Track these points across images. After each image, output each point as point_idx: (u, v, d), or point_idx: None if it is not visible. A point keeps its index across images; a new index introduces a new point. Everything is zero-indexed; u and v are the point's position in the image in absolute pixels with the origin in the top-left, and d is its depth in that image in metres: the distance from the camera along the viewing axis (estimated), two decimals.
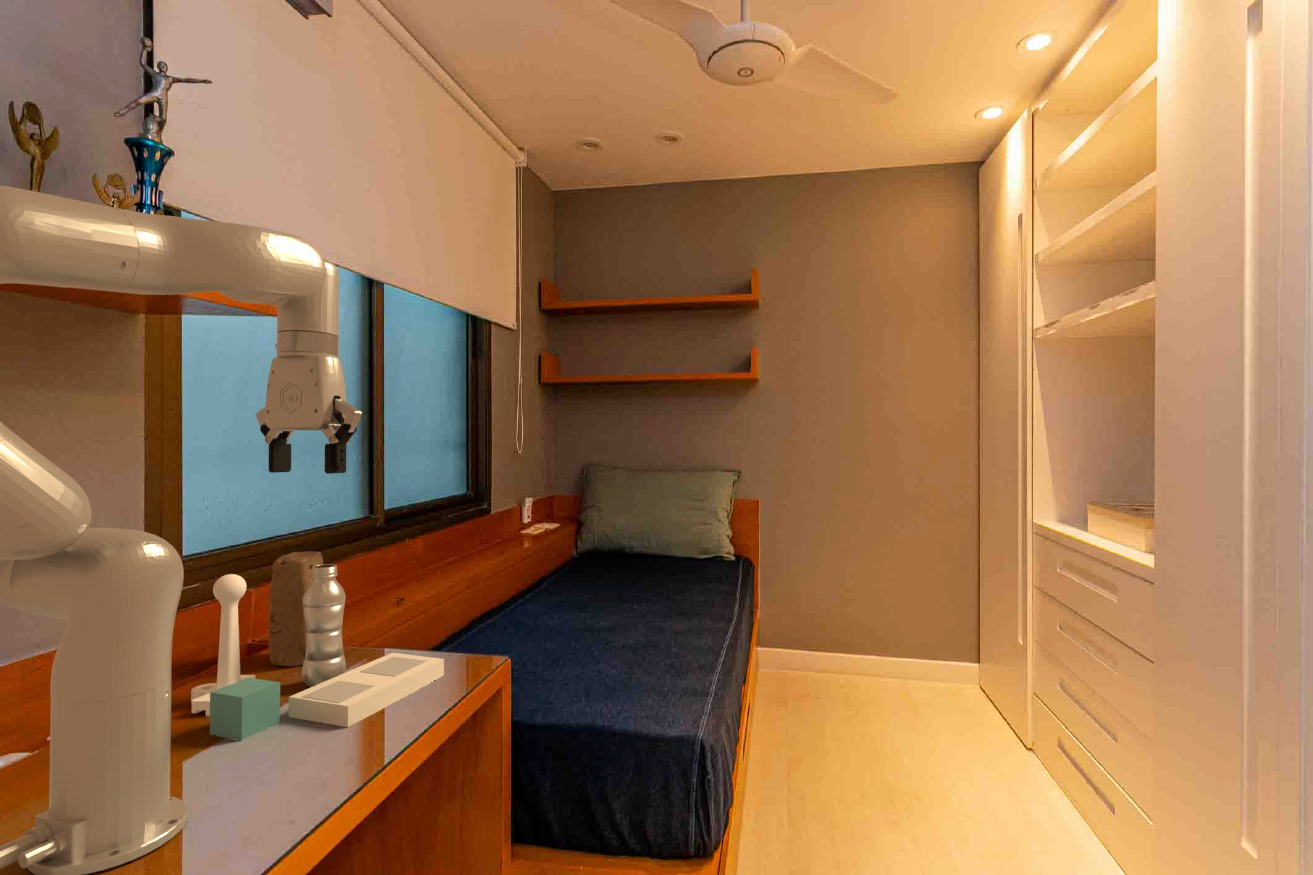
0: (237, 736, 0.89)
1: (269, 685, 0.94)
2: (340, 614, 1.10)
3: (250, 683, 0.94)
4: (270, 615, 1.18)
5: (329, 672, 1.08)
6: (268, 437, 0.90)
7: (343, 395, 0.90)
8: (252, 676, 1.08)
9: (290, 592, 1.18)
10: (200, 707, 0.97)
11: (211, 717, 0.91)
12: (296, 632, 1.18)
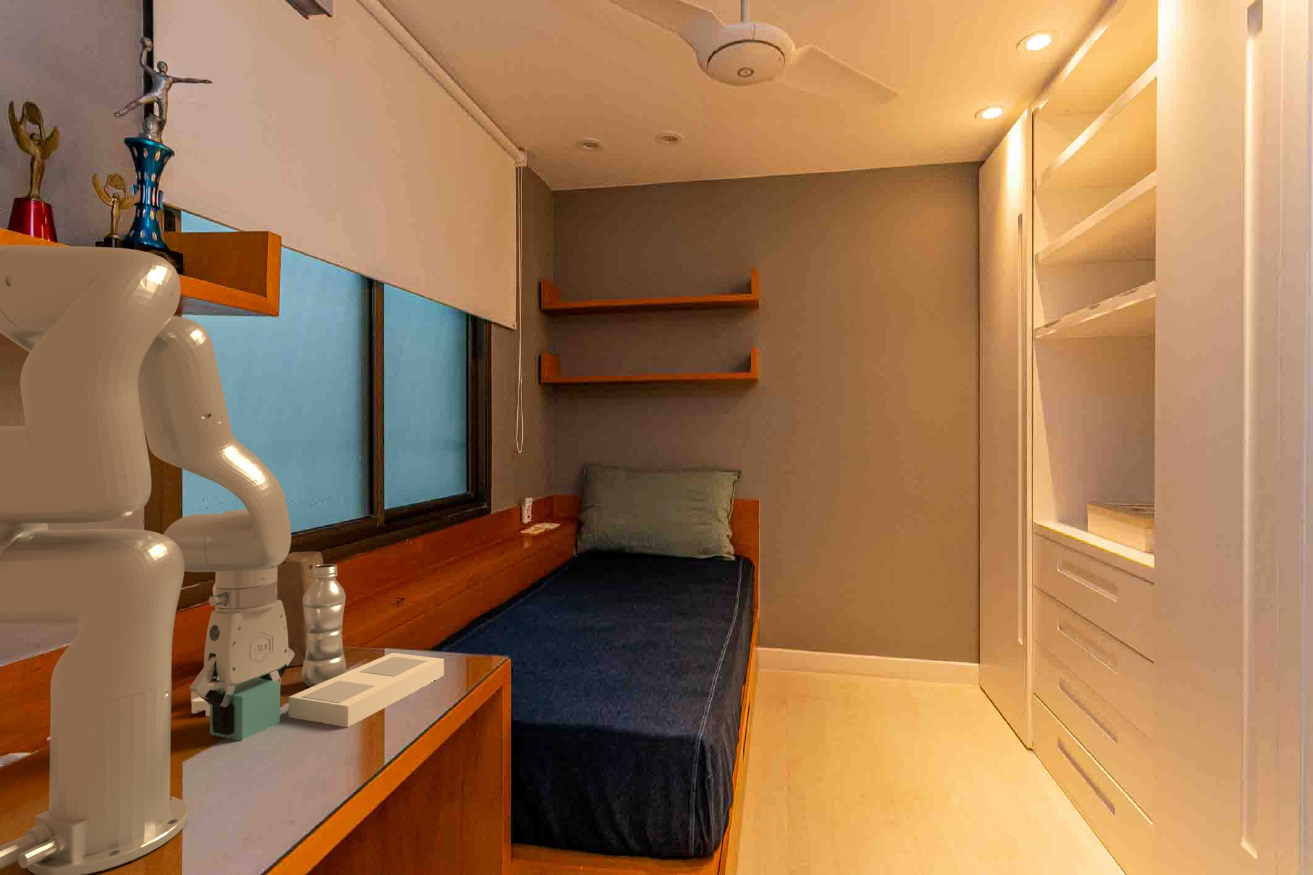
0: (237, 736, 0.89)
1: (269, 684, 0.94)
2: (340, 614, 1.10)
3: (250, 682, 0.94)
4: None
5: (329, 672, 1.08)
6: (225, 700, 0.89)
7: None
8: None
9: (290, 592, 1.18)
10: (200, 707, 0.97)
11: None
12: (296, 632, 1.18)
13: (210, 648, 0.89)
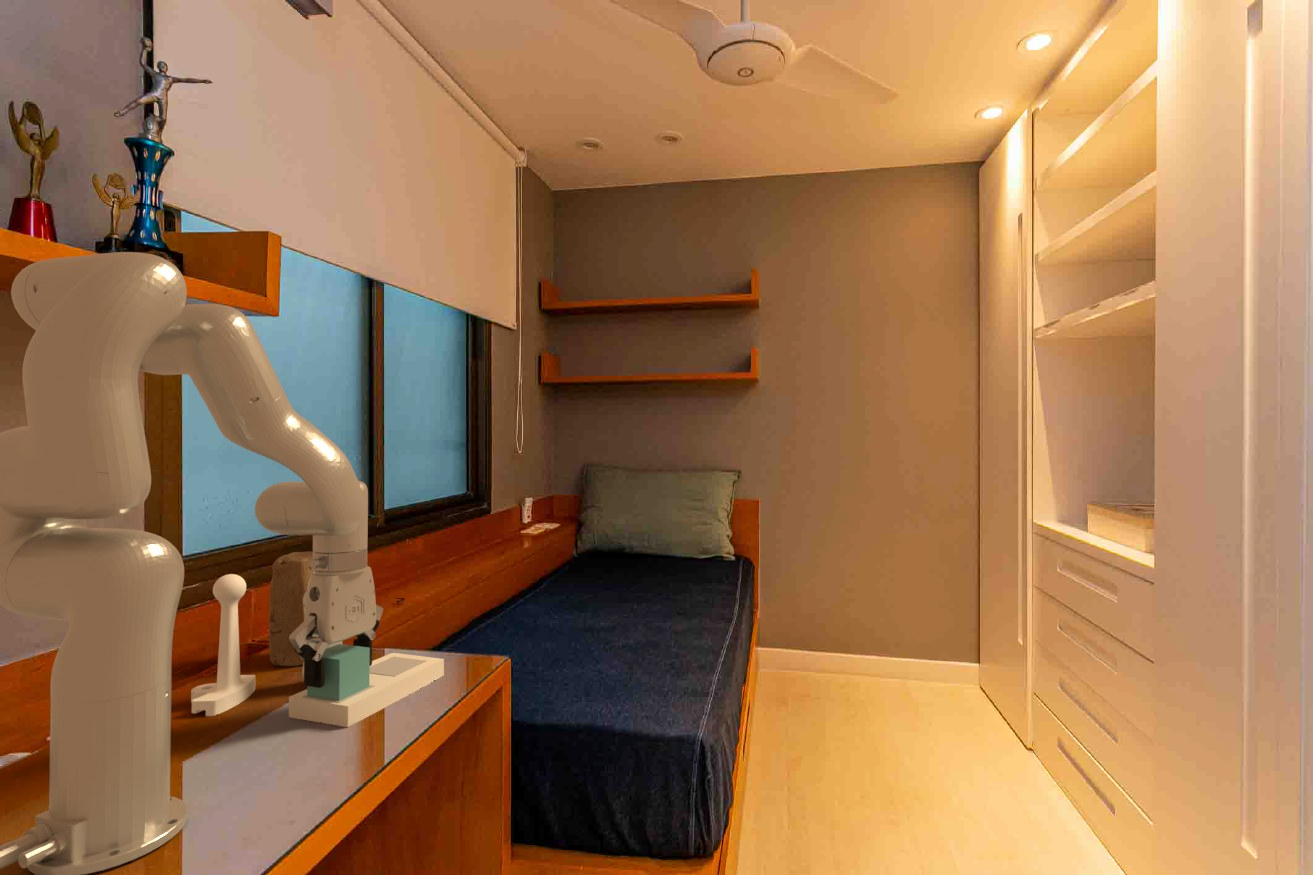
0: (334, 696, 0.95)
1: (360, 650, 1.00)
2: None
3: (342, 648, 1.00)
4: (270, 615, 1.18)
5: None
6: (317, 654, 0.94)
7: None
8: (252, 676, 1.08)
9: (290, 592, 1.18)
10: (200, 707, 0.97)
11: None
12: None
13: (311, 608, 0.95)
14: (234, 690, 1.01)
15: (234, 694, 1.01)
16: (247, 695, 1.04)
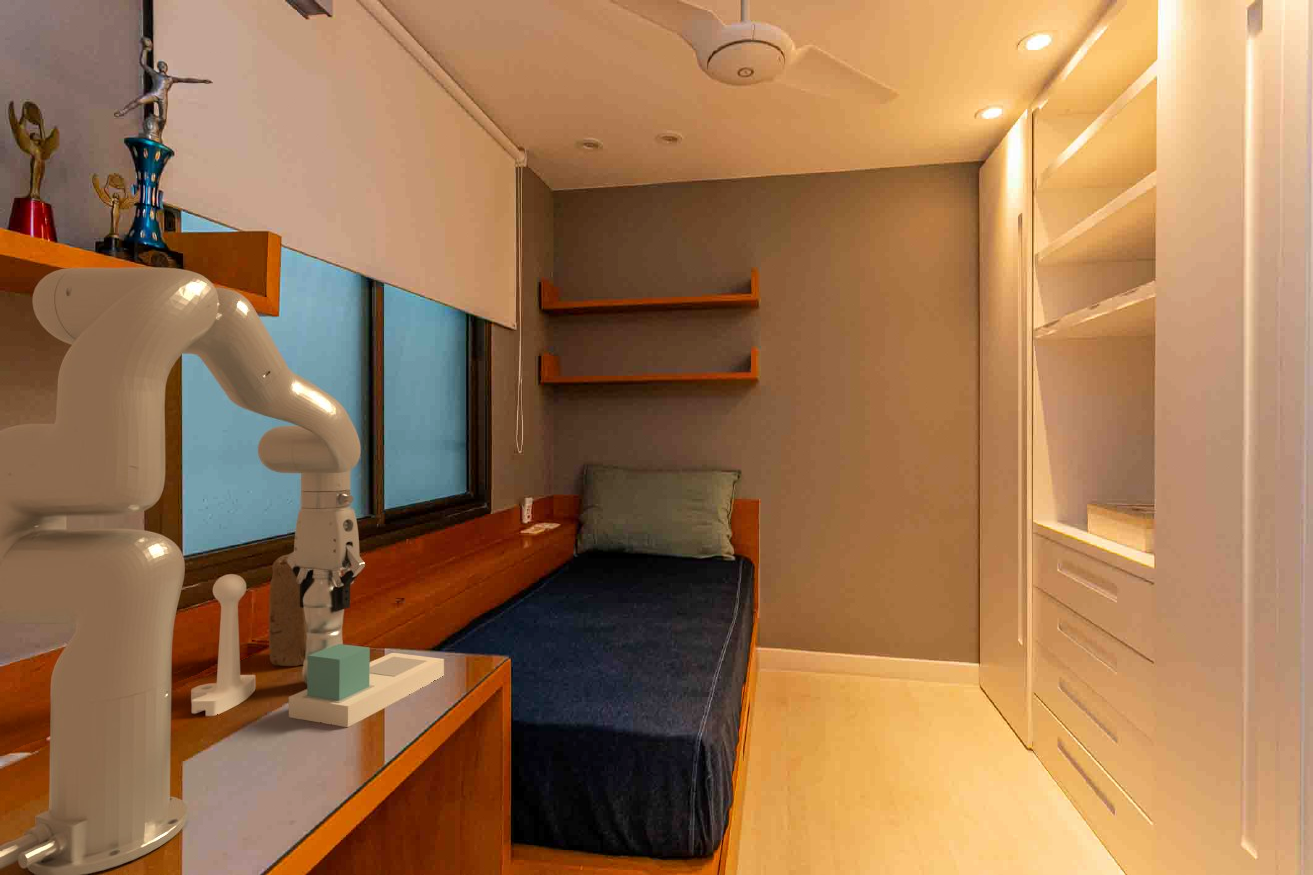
0: (334, 696, 0.95)
1: (360, 650, 1.00)
2: (341, 614, 1.10)
3: (342, 648, 1.00)
4: (270, 615, 1.18)
5: None
6: None
7: None
8: (252, 676, 1.08)
9: (290, 592, 1.18)
10: (200, 707, 0.97)
11: (309, 679, 0.97)
12: (296, 632, 1.18)
13: (347, 538, 1.08)
14: (234, 690, 1.01)
15: (234, 694, 1.01)
16: (247, 695, 1.04)
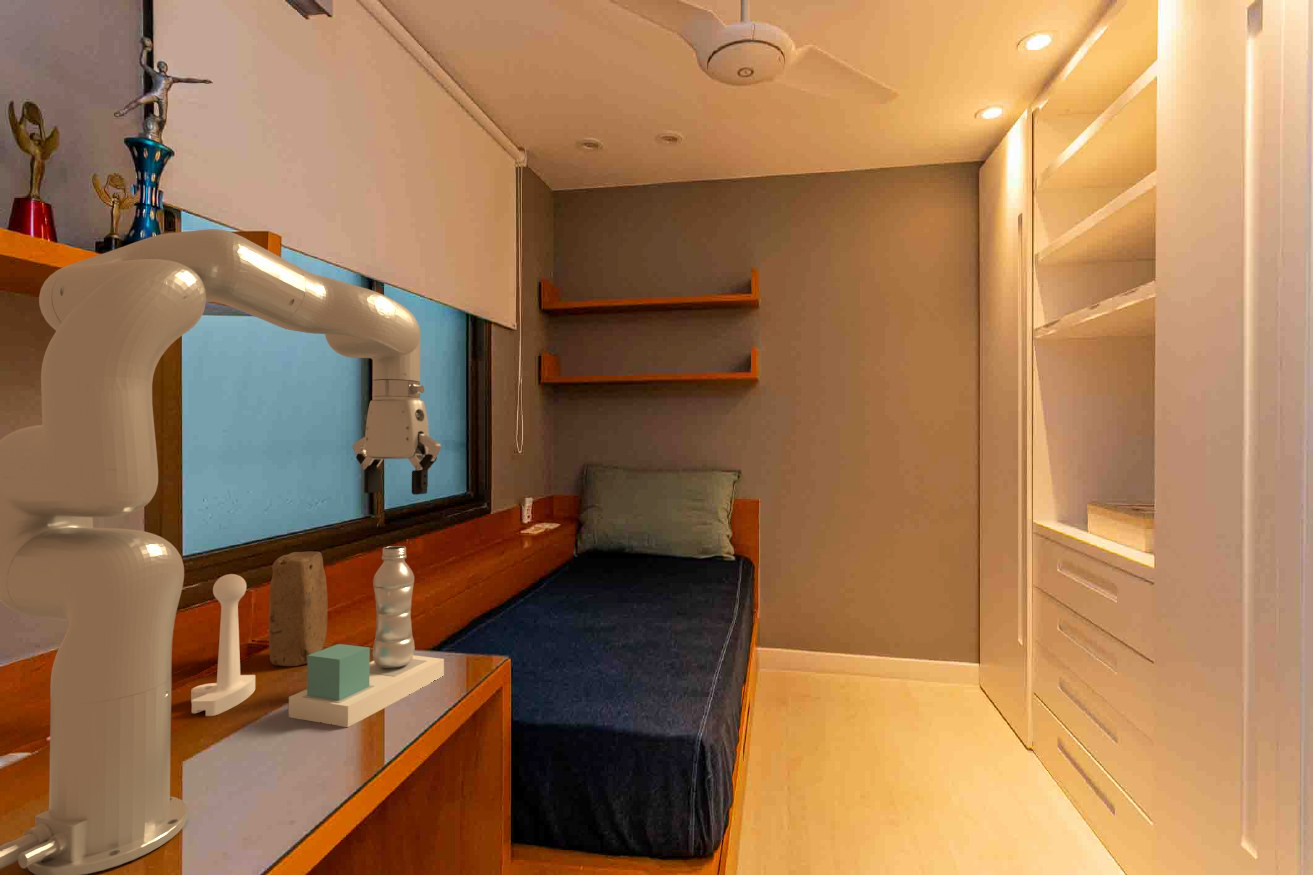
0: (334, 696, 0.95)
1: (360, 650, 1.00)
2: (410, 595, 1.10)
3: (342, 648, 1.00)
4: (270, 615, 1.18)
5: (400, 653, 1.08)
6: None
7: None
8: (252, 676, 1.08)
9: (290, 592, 1.18)
10: (200, 707, 0.97)
11: (309, 679, 0.97)
12: (296, 632, 1.18)
13: (419, 428, 1.09)
14: (234, 690, 1.01)
15: (234, 694, 1.01)
16: (247, 695, 1.04)
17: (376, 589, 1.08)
